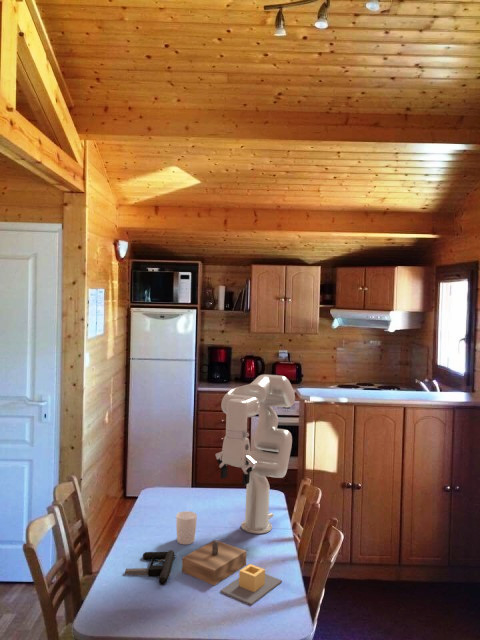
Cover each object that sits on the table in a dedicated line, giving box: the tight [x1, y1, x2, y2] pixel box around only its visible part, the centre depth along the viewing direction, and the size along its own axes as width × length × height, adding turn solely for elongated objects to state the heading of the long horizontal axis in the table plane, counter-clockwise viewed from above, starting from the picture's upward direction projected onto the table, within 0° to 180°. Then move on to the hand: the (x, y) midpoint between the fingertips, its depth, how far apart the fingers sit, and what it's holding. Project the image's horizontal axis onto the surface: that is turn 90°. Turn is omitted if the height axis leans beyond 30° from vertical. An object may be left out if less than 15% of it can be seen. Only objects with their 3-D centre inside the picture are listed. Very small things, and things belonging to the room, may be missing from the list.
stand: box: [181, 539, 247, 586], centre depth 186 cm, size 18×14×10 cm
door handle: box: [124, 550, 176, 586], centre depth 184 cm, size 3×20×16 cm
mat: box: [219, 573, 283, 606], centre depth 175 cm, size 18×12×1 cm, turn 144°
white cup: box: [175, 510, 198, 545], centre depth 207 cm, size 8×8×10 cm
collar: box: [238, 563, 266, 592], centre depth 175 cm, size 6×6×5 cm
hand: (234, 481), depth 194 cm, fingers open, 9 cm apart
